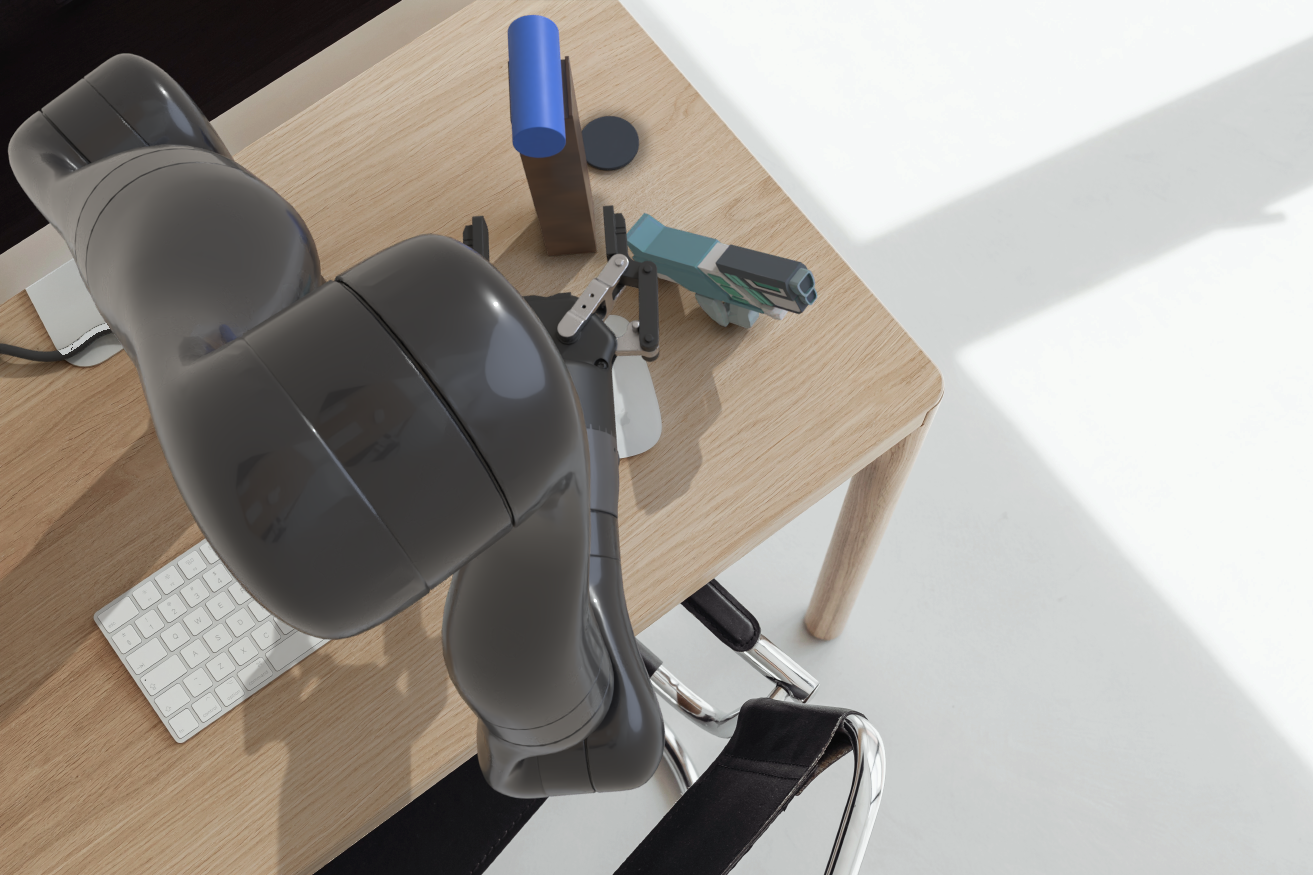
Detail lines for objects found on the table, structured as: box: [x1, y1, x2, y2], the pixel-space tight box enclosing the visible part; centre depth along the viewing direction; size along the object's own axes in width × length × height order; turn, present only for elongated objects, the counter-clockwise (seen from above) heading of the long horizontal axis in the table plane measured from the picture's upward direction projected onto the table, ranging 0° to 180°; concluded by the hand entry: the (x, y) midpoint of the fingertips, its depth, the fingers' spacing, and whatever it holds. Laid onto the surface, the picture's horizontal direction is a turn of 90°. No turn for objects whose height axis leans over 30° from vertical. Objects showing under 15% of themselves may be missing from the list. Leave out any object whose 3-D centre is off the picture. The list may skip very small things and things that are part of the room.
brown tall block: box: [507, 55, 598, 257], centre depth 81 cm, size 4×5×20 cm
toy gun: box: [627, 212, 818, 329], centre depth 82 cm, size 4×19×10 cm
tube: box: [506, 14, 566, 158], centre depth 69 cm, size 9×4×4 cm, turn 5°
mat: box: [581, 115, 640, 171], centre depth 93 cm, size 6×6×1 cm
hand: (544, 216), depth 66 cm, fingers open, 8 cm apart
